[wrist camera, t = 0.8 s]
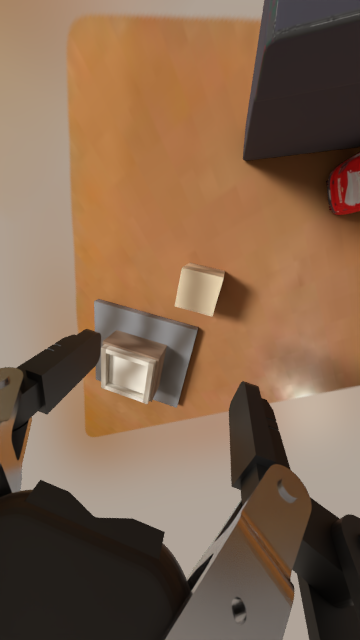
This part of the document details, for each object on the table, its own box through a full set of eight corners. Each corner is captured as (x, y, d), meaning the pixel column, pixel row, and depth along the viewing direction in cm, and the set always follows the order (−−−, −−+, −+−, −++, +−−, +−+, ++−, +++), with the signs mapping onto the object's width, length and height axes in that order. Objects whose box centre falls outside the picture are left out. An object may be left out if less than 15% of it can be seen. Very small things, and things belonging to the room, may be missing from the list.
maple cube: (224, 270, 25) (223, 277, 21) (215, 303, 28) (212, 316, 23) (190, 262, 26) (182, 267, 22) (183, 295, 28) (174, 306, 24)
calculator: (376, 93, 16) (1008, -525, 3) (358, 155, 18) (716, -72, 5) (246, 116, 19) (287, -173, 6) (241, 168, 21) (264, 42, 7)
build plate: (198, 327, 30) (191, 347, 24) (178, 402, 38) (169, 431, 32) (98, 298, 32) (71, 311, 27) (99, 375, 40) (78, 397, 35)
